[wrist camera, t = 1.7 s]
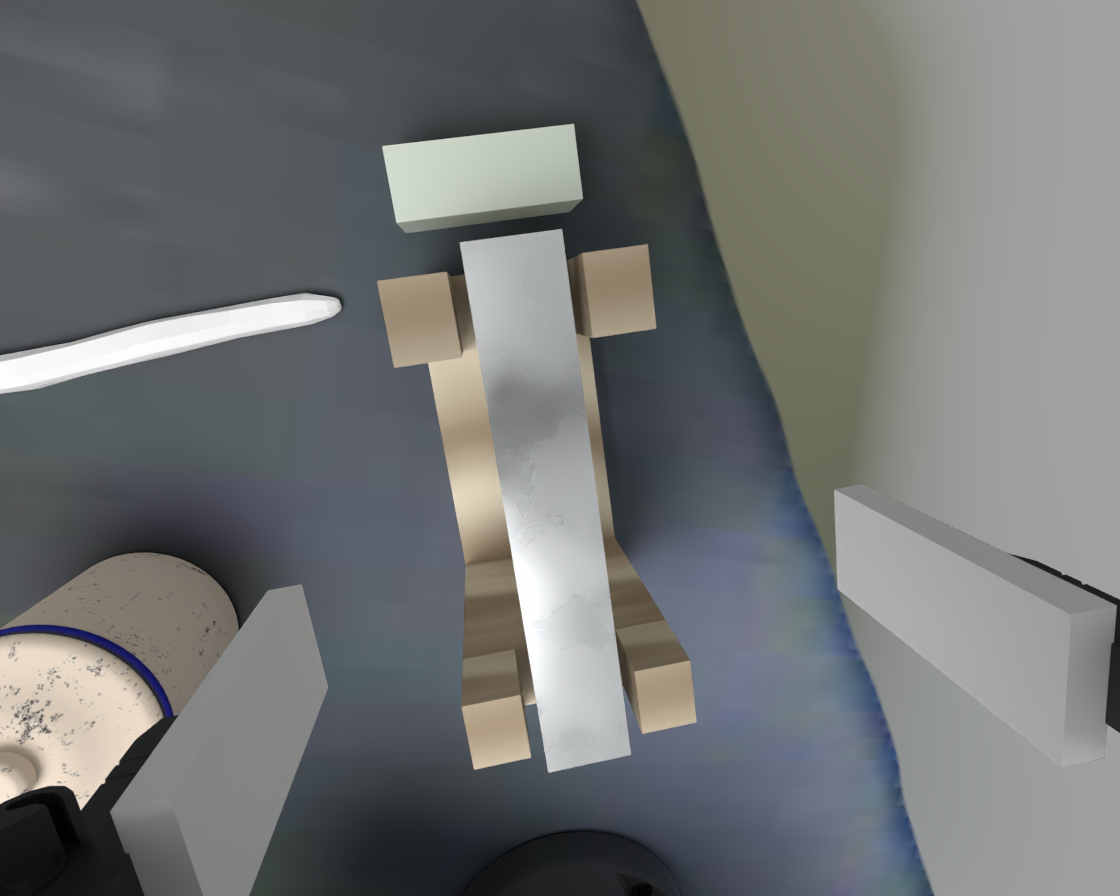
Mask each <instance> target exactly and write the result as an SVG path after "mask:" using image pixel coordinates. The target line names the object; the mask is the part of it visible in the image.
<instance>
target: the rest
mask: <svg viewBox="0 0 1120 896" xmlns="http://www.w3.org/2000/svg"><path fill="white" fill-rule="evenodd" d="M382 148H383V153H384V159H385V164H386V169H387V175H388V180H389V185H390V191H391V196H392V201H393V207H394V212H395V217H396V223H397V224H398V225H399V226H400V227H401V228H402V229H403V230H404V232H405V233H413V232H421V231H428V230H436V229H444V228H451V227H459V226H467V225H474V224H482V223H490V222H498V221H505V220H513V219H521V218H528V217H536V216H544V215H551V214H559V213H567V212H570V211H571V210H572V209H573V208H574V207H575V206H576V205H577V204H578V203H579V202H580V201H581V200H582V199H583V195H582V186H581V178H580V170H579V162H578V154H577V146H576V137H575V129H574V124H568V125H560V126H551V127H543V128H534V129H526V130H517V131H508V132H500V133H491V134H483V135H474V136H465V137H457V138H448V139H440V140H431V141H423V142H414V143H405V144H397V145H388V146H382Z"/></svg>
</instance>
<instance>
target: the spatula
mask: <svg viewBox="0 0 1120 896" xmlns="http://www.w3.org/2000/svg"><path fill="white" fill-rule="evenodd" d="M341 307H342V306H341V304H340V300H338V299H337V298H334V297H329V296H321V295H316V294H310V293H300V294H294V295H288V296H282V297H277V298H271V299H265V300H260V301H255V302H249V303H244V304H239V305H233V306H228V307H222V308H217V309H212V310H207V311H201V312H196V313H191V314H185V315H180V316H174V317H169V318H163V319H158V320H153V321H148V322H144V323H140V324H136V325H132V326H128V327H125V328H121V329H117V330H113V331H109V332H106V333H102V334H98V335H95V336H91V337H88V338H84V339H81V340H77V341H74V342H70V343H64V344H59V345H53V346H48V347H43V348H37V349H32V350H27V351H21V352H16V353H10V354H5V355H0V394H2V393H10V392H18V391H25V390H32V389H39V388H43V387H47V386H50V385H53V384H57V383H60V382H63V381H67V380H70V379H74V378H77V377H80V376H84V375H87V374H91V373H95V372H99V371H104V370H108V369H112V368H116V367H120V366H124V365H129V364H133V363H138V362H143V361H147V360H152V359H156V358H161V357H165V356H169V355H173V354H177V353H181V352H185V351H189V350H193V349H197V348H201V347H205V346H209V345H213V344H217V343H221V342H225V341H229V340H233V339H236V338H241V337H246V336H252V335H257V334H262V333H268V332H273V331H279V330H284V329H289V328H294V327H300V326H305V325H310V324H314V323H317V322H319V321H322V320H325V319H328V318H331V317H333V316H334V315H336V314H337V313H338V312H339V311H340V310H341Z"/></svg>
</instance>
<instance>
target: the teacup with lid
mask: <svg viewBox="0 0 1120 896" xmlns="http://www.w3.org/2000/svg"><path fill="white" fill-rule="evenodd" d="M238 632H239V628H238V621H237V616H236V613H235V610H234V607H233V605H232V603H231V601H230V599H229V597H228V596H227V594H226V592H225V591H224V590H223V588H222V587H221V586H220V585H219V584H218V583H217V582H216V581H215V580H214V579H213V578H212V577H211V576H210V575H208V574H207V573H206V572H205V571H203V570H202V569H200V568H198V567H197V566H195V565H193V564H191V563H189V562H187V561H184V560H182V559H179V558H176V557H173V556H169V555H164V554H158V553H130V554H124V555H119V556H115V557H112V558H109V559H106V560H104V561H102V562H99V563H97V564H95V565H94V566H92V567H90V568H89V569H87V570H86V571H84V572H83V573H81V574H80V575H78V576H77V577H76V578H74V579H73V580H71V581H70V582H68V583H67V584H65V585H64V586H62V587H61V588H59V589H58V590H56V591H55V592H53V593H52V594H51V595H49V596H48V597H46V598H45V599H43V600H42V601H40V602H39V603H37V604H36V605H34V606H33V607H31V608H30V609H29V610H27V611H26V612H24V613H23V614H21V615H20V616H18V617H17V618H15V619H14V620H12V621H11V622H9V623H8V624H7V625H5V626H4V627H2V628H1V629H0V804H1V803H3V802H5V801H7V800H9V799H12V798H14V797H16V796H19V795H21V794H23V793H25V792H28V791H31V790H35V789H39V788H43V787H47V786H66V787H68V788H69V789H71V790H72V791H74V794H75V797H76V799H77V802H78V804H79V807H80V810H82V808H83V807H84V806H85V804H86V803H87V802H88V801H89V799H90V798H91V797H92V795H93V794H94V793H95V792H96V790H97V789H98V788H99V786H100V785H101V784H104V783H105V779H106V777H107V776H108V775H109V773H110V772H111V771H112V770H113V768H114V767H115V766H116V765H119V760H120V759H121V758H122V757H123V755H124V754H125V753H126V751H127V750H128V749H129V747H130V746H131V745H132V744H133V742H134V741H135V740H136V739H137V738H138V737H139V736H141V735H142V734H143V733H144V732H146V731H147V730H148V729H149V728H151V727H152V726H153V725H154V724H156V723H157V722H158V721H159V720H161V719H162V718H166V717H171V716H176V715H179V714H180V713H181V711H182V710H183V709H184V707H185V706H186V704H187V703H188V702H189V700H190V699H191V697H192V696H193V695H194V693H195V692H196V690H197V689H198V688H199V686H200V685H201V683H202V682H203V681H204V679H205V678H206V676H207V675H208V674H209V672H210V671H211V669H212V668H213V667H214V665H215V664H216V662H217V661H218V660H219V658H220V657H221V655H222V654H223V653H224V651H225V650H226V648H227V647H228V646H229V644H230V643H231V641H232V640H233V639H234V637H235V636H236V634H237V633H238Z"/></svg>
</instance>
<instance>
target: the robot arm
mask: <svg viewBox="0 0 1120 896" xmlns="http://www.w3.org/2000/svg"><path fill="white" fill-rule="evenodd" d="M834 502H835V532H836V560H837V589H838V590H839V591H841V592H842V593H843V594H844V595H846V596H847V597H848V598H849V599H851V600H852V601H853V602H854V603H856V604H857V605H858V606H859V607H861V608H862V609H863V610H864V611H866V612H867V613H868V614H869V615H871V616H872V617H873V618H874V619H876V620H877V621H878V622H880V623H881V624H882V625H883V626H884V627H886V628H887V629H888V630H890V631H891V632H892V633H893V634H895V635H896V636H897V637H898V638H900V639H901V640H902V641H903V642H905V643H906V644H907V645H908V646H909V647H911V648H912V649H913V650H915V651H916V652H917V653H918V654H920V655H921V656H922V657H923V658H925V659H926V660H927V661H928V662H930V663H931V664H932V665H934V666H935V667H936V668H937V669H938V670H940V671H941V672H942V673H943V674H945V675H946V676H947V677H948V678H950V679H951V680H952V681H953V682H955V683H956V684H957V685H958V686H960V687H961V688H962V689H964V690H965V691H966V692H967V693H968V694H970V695H971V696H972V697H973V698H975V699H976V700H977V701H978V702H980V703H981V704H982V705H983V706H985V707H986V708H987V709H988V710H990V711H991V712H992V713H993V714H995V715H996V716H997V717H999V718H1000V719H1001V720H1002V721H1003V722H1005V723H1006V724H1007V725H1008V726H1010V727H1011V728H1012V729H1013V730H1015V731H1016V732H1017V733H1018V734H1020V735H1021V736H1022V737H1024V738H1025V739H1026V740H1027V741H1028V742H1030V743H1031V744H1032V745H1033V746H1035V747H1036V748H1037V749H1038V750H1040V751H1041V752H1042V753H1043V754H1045V755H1046V756H1047V757H1049V758H1050V759H1051V760H1052V761H1054V762H1055V763H1056V764H1057V765H1058V766H1060V767H1061V768H1064V767H1069V766H1073V765H1077V764H1082V763H1086V762H1090V761H1095V760H1099V759H1104V758H1105V746H1106V734H1107V724H1108V725H1109V726H1111V727H1112V728H1113V729H1115V730H1116V731H1118V732H1119V733H1120V600H1119V599H1117V598H1115V597H1113V596H1111V595H1109V594H1107V593H1104V592H1102V591H1100V590H1098V589H1096V588H1094V587H1091V586H1089V585H1087V584H1086V585H1082V583H1081V581H1078V580H1076V579H1074V578H1072V577H1070V576H1068V575H1062V574H1061V572H1059V571H1057V570H1055V569H1053V568H1051V567H1049V566H1046V565H1044V564H1042V563H1040V562H1038V561H1034V560H1031V559H1027V558H1023V557H1019V556H1016V555H1012V554H1008V553H1006V552H1004V551H1001V550H999V549H997V548H995V547H993V546H991V545H989V544H987V543H985V542H983V541H981V540H978V539H976V538H974V537H972V536H970V535H968V534H966V533H964V532H962V531H960V530H957V529H955V528H953V527H951V526H949V525H947V524H945V523H943V522H941V521H939V520H936V519H934V518H932V517H930V516H928V515H926V514H924V513H922V512H920V511H918V510H915V509H913V508H911V507H909V506H907V505H905V504H903V503H901V502H898V501H897V500H894V499H892V498H890V497H888V496H886V495H884V494H882V493H880V492H878V491H876V490H873V489H871V488H869V487H867V486H865V485H862V484H861V485H856V486H850V487H845V488H839V489H834ZM327 689H328V685H327V681H326V677H325V673H324V669H323V666H322V662H321V658H320V654H319V650H318V646H317V642H316V638H315V634H314V630H313V627H312V623H311V619H310V615H309V611H308V607H307V603H306V599H305V595H304V591H303V587H302V584H301V585H295V586H289V587H284V588H278V589H273V590H268V591H267V592H266V594H265V595H264V597H263V598H262V599H261V601H260V602H259V604H258V605H257V606H256V608H255V609H254V611H253V612H252V613H251V615H250V616H249V618H248V619H247V620H246V622H245V623H244V625H243V626H242V627H241V629H240V630H239V632H238V633H237V634H236V636H235V637H234V639H233V640H232V641H231V643H230V644H229V646H228V647H227V648H226V650H225V651H224V653H223V654H222V655H221V657H220V658H219V660H218V661H217V662H216V664H215V665H214V667H213V668H212V669H211V671H210V672H209V674H208V675H207V676H206V678H205V679H204V681H203V682H202V683H201V685H200V686H199V688H198V689H197V690H196V692H195V693H194V695H193V696H192V697H191V699H190V700H189V702H188V703H187V704H186V706H185V707H184V709H183V710H182V711H181V713H180V714H179V715H176V716H171V717H166V718H162V719H161V720H159V721H158V722H157V723H156V724H154V725H153V726H152V727H151V728H149V729H148V730H147V731H146V732H144V733H143V734H142V735H141V736H139V737H138V738H137V739H136V740H135V741H134V742H133V744H132V745H131V746H130V747H129V749H128V750H127V751H126V753H125V754H124V755H123V757H122V758H121V759H120V760H119V765H116V766H115V767H114V768H113V770H112V771H111V772H110V773H109V775H108V776H107V777H106V779H105V783H104V784H101V785H100V786H99V788H98V789H97V790H96V792H95V793H94V794H93V795H92V797H91V798H90V799H89V801H88V802H87V803H86V804H85V806H84V807H83V808H82V810H80V807H79V804H78V802H77V799H76V797H75V794H74V791H72V790H71V789H69V788H68V787H66V786H47V787H43V788H39V789H35V790H31V791H28V792H25V793H23V794H21V795H19V796H16V797H14V798H12V799H9V800H7V801H5V802H3V803H1V804H0V896H249V895H250V892H251V890H252V887H253V884H254V882H255V879H256V876H257V874H258V871H259V868H260V866H261V863H262V861H263V858H264V855H265V853H266V850H267V847H268V845H269V842H270V839H271V837H272V834H273V832H274V829H275V826H276V824H277V821H278V818H279V816H280V813H281V810H282V808H283V805H284V803H285V800H286V797H287V795H288V792H289V789H290V787H291V784H292V782H293V779H294V776H295V774H296V771H297V768H298V766H299V763H300V760H301V758H302V755H303V753H304V750H305V747H306V745H307V742H308V739H309V737H310V734H311V731H312V729H313V726H314V724H315V721H316V718H317V716H318V713H319V710H320V708H321V705H322V702H323V700H324V697H325V695H326V692H327ZM463 896H681V895H680V892H679V889H678V886H677V884H676V882H675V880H674V878H673V876H672V875H671V873H670V872H669V870H668V869H667V867H666V866H665V865H664V864H663V863H662V862H661V861H660V860H659V859H658V858H657V857H656V856H655V855H653V854H652V853H651V852H650V851H648V850H647V849H645V848H644V847H642V846H640V845H638V844H636V843H634V842H632V841H630V840H627V839H624V838H621V837H618V836H614V835H609V834H604V833H597V832H570V833H562V834H556V835H551V836H547V837H544V838H540V839H537V840H534V841H531V842H529V843H526V844H524V845H522V846H520V847H517V848H515V849H514V850H512V851H510V852H508V853H506V854H505V855H503V856H502V857H500V858H499V859H497V860H496V861H495V862H493V863H492V864H491V865H489V866H488V867H487V868H486V869H485V870H484V871H483V872H482V873H481V874H479V875H478V877H477V878H476V879H475V880H474V881H473V882H472V883H471V885H470V886H469V887H468V888H467V890H466V891H465V893H464V894H463Z"/></svg>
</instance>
